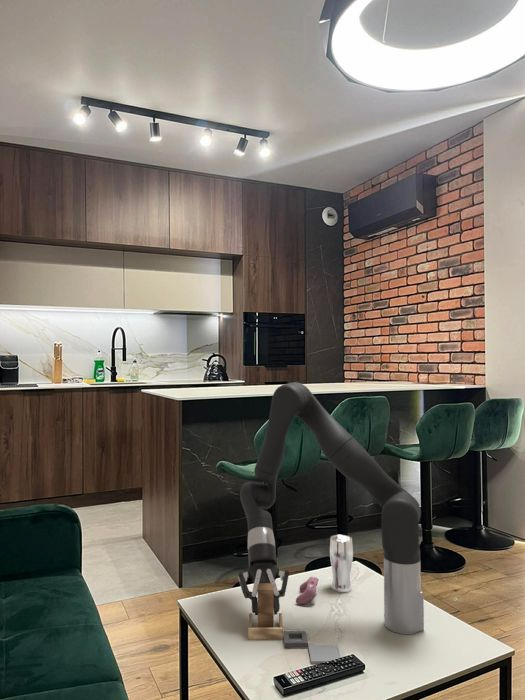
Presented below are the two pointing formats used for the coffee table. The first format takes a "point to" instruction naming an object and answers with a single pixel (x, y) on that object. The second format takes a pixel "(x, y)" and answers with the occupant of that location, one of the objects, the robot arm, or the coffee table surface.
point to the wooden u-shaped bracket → (265, 630)
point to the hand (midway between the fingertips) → (266, 613)
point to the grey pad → (323, 653)
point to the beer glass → (341, 562)
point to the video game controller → (307, 591)
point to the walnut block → (265, 605)
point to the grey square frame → (295, 643)
